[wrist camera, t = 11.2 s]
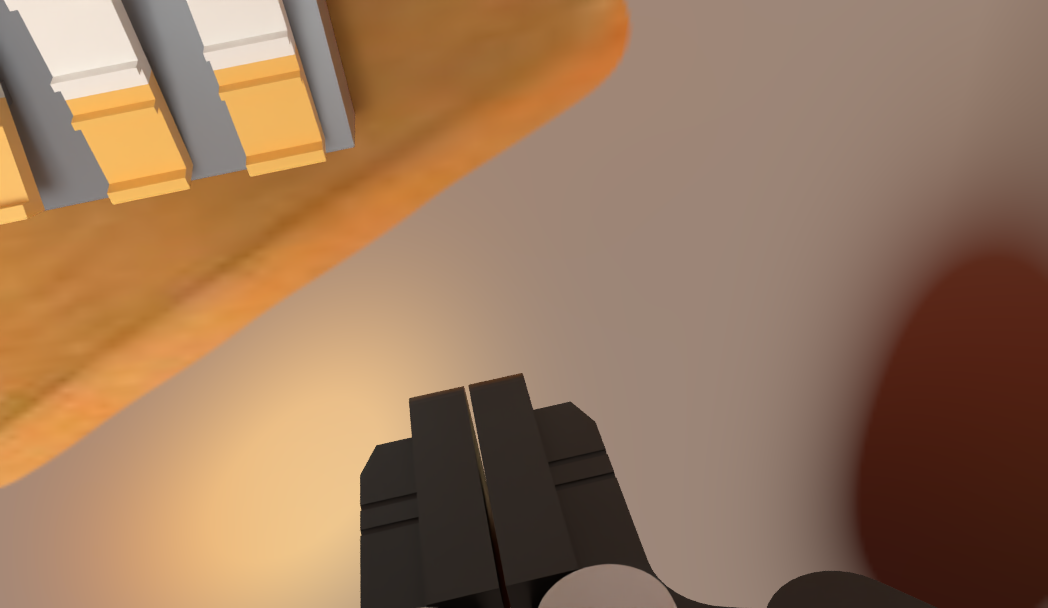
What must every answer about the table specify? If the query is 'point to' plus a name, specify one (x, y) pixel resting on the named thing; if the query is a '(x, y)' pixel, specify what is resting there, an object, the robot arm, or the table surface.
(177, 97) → the switch panel
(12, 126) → the switch
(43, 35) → the switch middle
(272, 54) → the switch
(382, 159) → the table surface
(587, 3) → the table surface
